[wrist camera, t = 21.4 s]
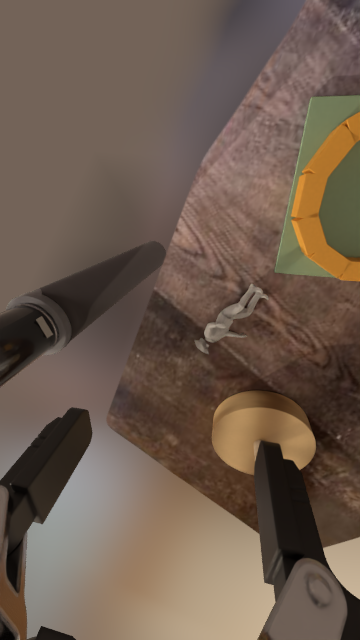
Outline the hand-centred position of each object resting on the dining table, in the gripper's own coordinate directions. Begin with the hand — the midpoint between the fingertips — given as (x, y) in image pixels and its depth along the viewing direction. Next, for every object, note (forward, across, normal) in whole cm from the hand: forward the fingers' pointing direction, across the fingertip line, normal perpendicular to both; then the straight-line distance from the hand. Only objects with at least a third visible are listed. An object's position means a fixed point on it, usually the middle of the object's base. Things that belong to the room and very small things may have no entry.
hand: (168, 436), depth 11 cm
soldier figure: (+27, -4, +5) cm, 27 cm away
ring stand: (+27, -12, +27) cm, 40 cm away
